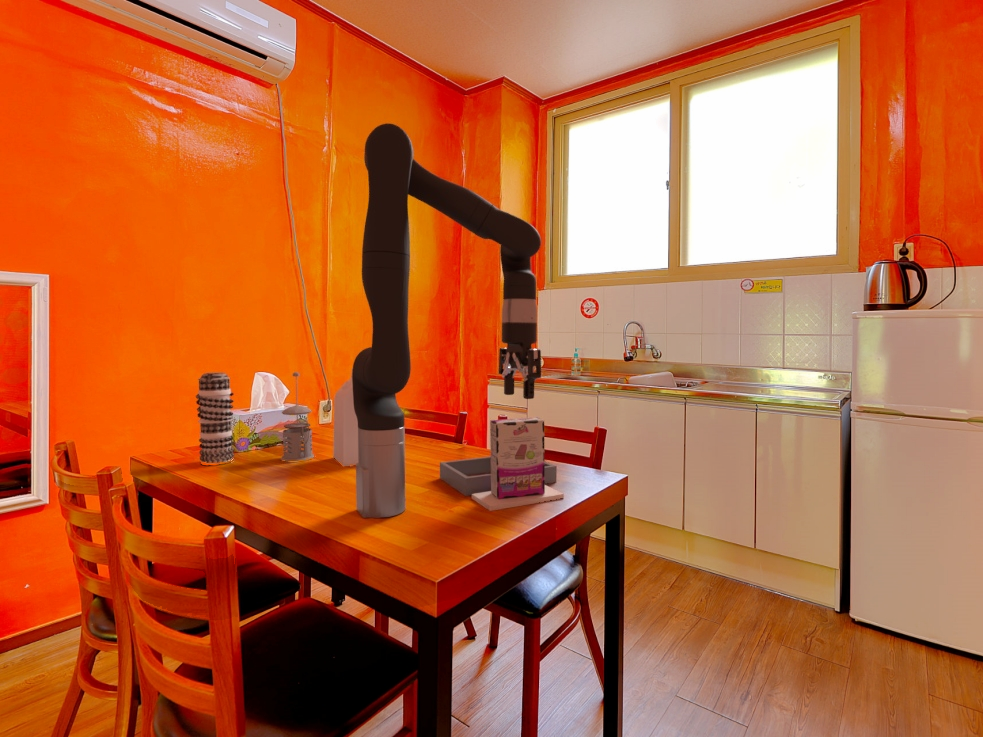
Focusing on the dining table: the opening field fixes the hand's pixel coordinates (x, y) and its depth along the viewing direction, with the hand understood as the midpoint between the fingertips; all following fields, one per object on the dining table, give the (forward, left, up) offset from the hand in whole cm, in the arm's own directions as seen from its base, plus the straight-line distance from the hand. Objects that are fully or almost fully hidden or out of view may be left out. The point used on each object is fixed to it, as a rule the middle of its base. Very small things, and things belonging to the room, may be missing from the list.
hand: (518, 396), depth 111 cm
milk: (-23, +51, -23) cm, 60 cm away
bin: (+3, +15, -22) cm, 27 cm away
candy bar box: (0, 0, -22) cm, 22 cm away
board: (0, 0, -22) cm, 22 cm away
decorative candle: (-59, +66, -23) cm, 91 cm away
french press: (-38, +60, -23) cm, 74 cm away
